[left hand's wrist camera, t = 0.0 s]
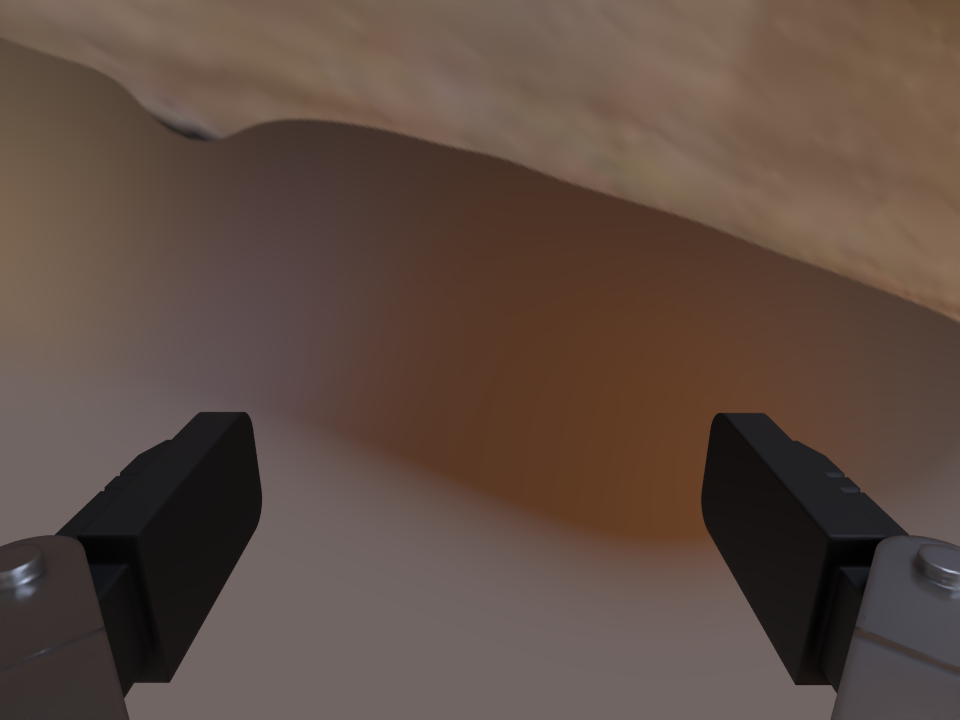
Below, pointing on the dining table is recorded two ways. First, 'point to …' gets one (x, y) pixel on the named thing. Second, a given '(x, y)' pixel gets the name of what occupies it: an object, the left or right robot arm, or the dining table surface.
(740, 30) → the dining table surface
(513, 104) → the dining table surface
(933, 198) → the dining table surface
